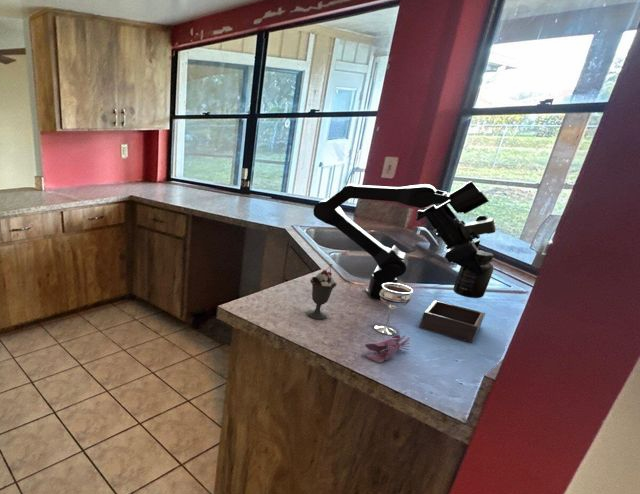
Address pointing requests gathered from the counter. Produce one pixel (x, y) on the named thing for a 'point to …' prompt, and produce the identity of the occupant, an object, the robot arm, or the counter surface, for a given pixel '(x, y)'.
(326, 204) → the robot arm
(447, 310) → the caddy
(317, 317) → the sundae
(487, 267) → the supplement bottle
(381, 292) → the wineglass
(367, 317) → the counter surface
